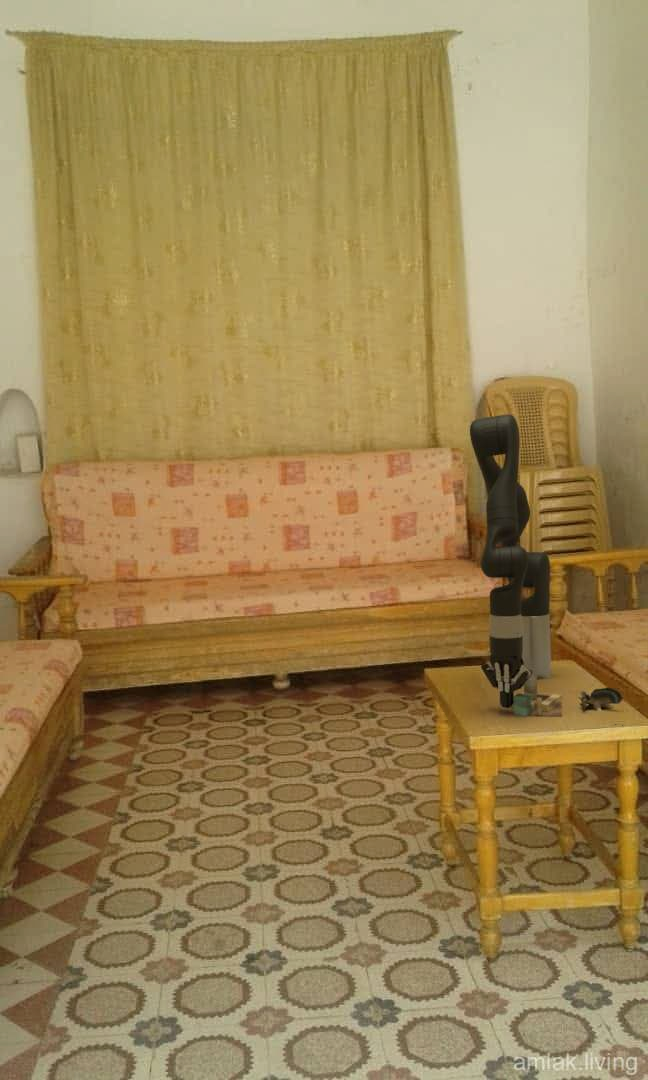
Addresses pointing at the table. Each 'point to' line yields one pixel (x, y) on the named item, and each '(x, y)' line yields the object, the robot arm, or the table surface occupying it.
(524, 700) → the square frame with handle
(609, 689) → the brown squirrel figurine
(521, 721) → the table surface
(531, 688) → the post board
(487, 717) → the table surface
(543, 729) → the table surface
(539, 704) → the dowel pin
